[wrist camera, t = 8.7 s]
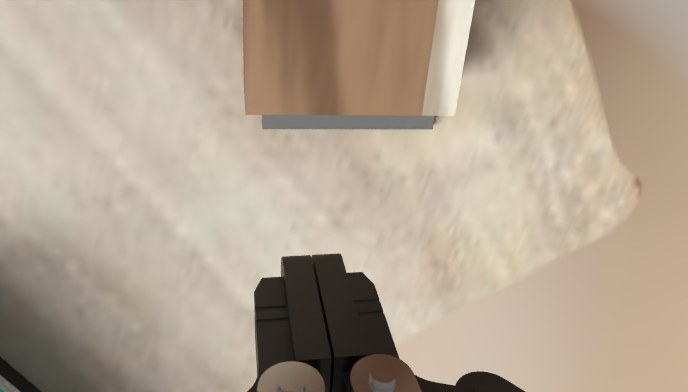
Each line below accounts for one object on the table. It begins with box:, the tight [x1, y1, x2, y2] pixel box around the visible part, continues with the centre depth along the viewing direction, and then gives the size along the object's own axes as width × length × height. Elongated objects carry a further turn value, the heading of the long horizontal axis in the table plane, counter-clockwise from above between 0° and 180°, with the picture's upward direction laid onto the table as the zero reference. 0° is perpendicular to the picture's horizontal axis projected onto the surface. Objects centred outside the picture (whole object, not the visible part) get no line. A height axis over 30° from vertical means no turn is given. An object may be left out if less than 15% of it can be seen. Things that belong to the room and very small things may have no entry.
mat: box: [262, 115, 435, 129], centre depth 35 cm, size 12×14×1 cm
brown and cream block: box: [243, 0, 475, 116], centre depth 33 cm, size 5×8×12 cm
